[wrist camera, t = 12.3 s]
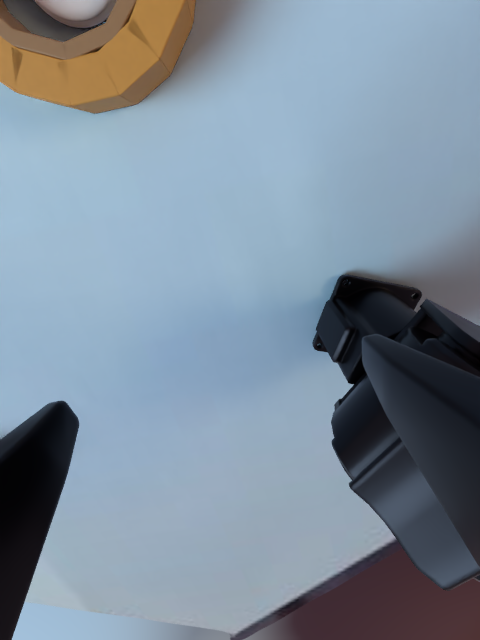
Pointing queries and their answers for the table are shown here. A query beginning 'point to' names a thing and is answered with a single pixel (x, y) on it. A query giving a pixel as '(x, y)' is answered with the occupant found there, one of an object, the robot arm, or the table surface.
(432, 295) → the table surface
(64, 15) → the chess piece
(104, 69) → the tape roll
